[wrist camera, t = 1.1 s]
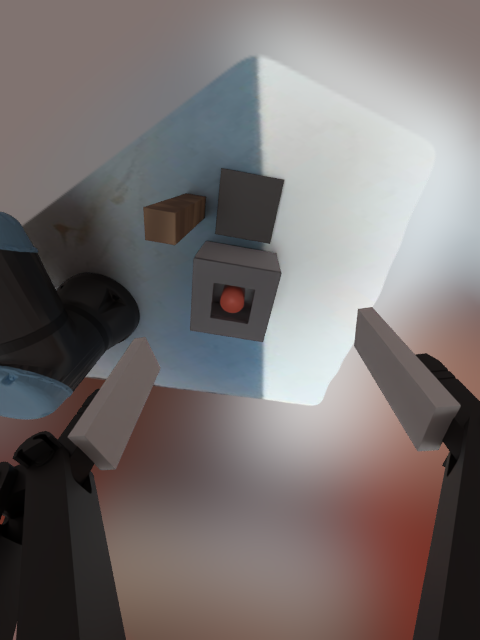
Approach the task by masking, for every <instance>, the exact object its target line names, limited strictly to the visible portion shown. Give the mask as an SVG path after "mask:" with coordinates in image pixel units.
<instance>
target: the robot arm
mask: <svg viewBox="0 0 480 640" xmlns="http://www.w3.org/2000/svg"><path fill="white" fill-rule="evenodd" d="M37 252H38V250H37V248H35V247H34V246H33V244H32V243H31V241H30V239H29V238H28V236H27V234H26V233H25V231H24V229H23V227H22V226H21V224H20V223H19V222H18V221H17V220H16V219H15V218H14V217H12V216H11V215H9V214H6V213H4V212H0V416H4V417H9V418H15V419H37V418H41V417H45V416H47V415H49V414H51V413H53V412H54V411H55V410H56V409H57V408H58V407H59V406H60V405H61V404H62V403H63V401H64V400H65V399H66V398H68V397H69V396H71V394H72V393H73V391H74V390H75V389H76V387H77V386H78V385H79V384H80V383H81V381H82V380H83V379H84V378H85V376H86V375H87V374H88V372H89V371H90V370H91V369H92V367H93V366H94V365H95V364H96V362H97V361H98V360H99V359H100V357H101V356H102V355H103V354H104V353H105V351H106V350H108V349H109V348H111V347H113V346H114V345H115V344H117V343H120V342H122V341H124V340H125V339H127V338H128V337H129V336H130V335H131V334H132V333H133V331H134V330H135V329H136V327H137V325H138V322H139V310H138V307H137V304H136V302H135V300H134V299H133V297H132V296H131V295H130V293H129V292H128V291H127V290H126V289H125V288H124V287H123V286H121V285H120V284H119V283H117V282H116V281H114V280H112V279H110V278H108V277H106V276H103V275H100V274H95V273H81V274H78V275H75V276H73V277H71V278H70V279H68V280H66V281H65V282H64V283H62V284H61V285H60V287H59V288H58V290H57V291H56V289H55V288H54V286H53V284H52V282H51V280H50V278H49V276H48V274H47V272H46V269H45V267H44V265H43V263H42V261H41V259H40V257H39V255H38V253H37ZM354 346H355V348H356V350H357V351H358V353H359V355H360V356H361V358H362V360H363V361H364V363H365V365H366V366H367V368H368V370H369V371H370V373H371V375H372V376H373V378H374V380H375V381H376V383H377V385H378V386H379V388H380V390H381V391H382V393H383V394H384V396H385V398H386V400H387V401H388V403H389V405H390V406H391V408H392V410H393V411H394V413H395V415H396V416H397V418H398V419H399V421H400V423H401V424H402V426H403V428H404V429H405V431H406V433H407V434H408V436H409V438H410V439H411V441H412V443H413V444H414V446H415V448H416V449H417V451H429V450H439V448H440V446H441V444H442V442H444V444H445V445H446V446H447V448H448V449H449V451H450V452H449V454H448V456H447V458H446V460H445V461H444V463H443V465H442V466H444V467H445V473H444V478H443V483H442V489H441V494H440V499H439V504H438V509H437V515H436V520H435V525H434V531H433V536H432V541H431V546H430V551H429V557H428V562H427V567H426V573H425V578H424V583H423V588H422V594H421V599H420V604H419V609H418V615H417V620H416V625H415V630H414V636H413V640H480V401H479V400H478V399H477V398H476V397H475V396H474V395H473V394H472V393H471V392H470V391H469V390H468V389H467V388H466V387H465V386H464V385H463V384H462V383H461V382H460V381H459V380H458V379H456V378H455V376H454V375H453V374H452V373H451V372H450V371H448V369H447V368H446V367H445V366H444V365H443V364H442V363H441V362H440V361H439V360H437V359H435V358H433V357H432V356H430V355H428V354H417V355H415V354H414V353H413V352H412V351H411V350H410V349H409V348H408V346H407V345H406V344H405V343H404V342H403V341H402V340H401V339H400V338H399V336H398V335H397V334H396V333H395V332H394V331H393V330H392V329H391V328H390V326H389V325H388V324H387V323H386V322H385V321H384V320H383V319H382V318H381V317H380V315H379V314H378V313H377V312H376V311H375V310H374V309H373V308H372V307H370V308H362V309H358V315H357V324H356V334H355V343H354ZM159 371H160V366H159V364H158V362H157V360H156V358H155V356H154V354H153V352H152V349H151V347H150V345H149V343H148V341H147V339H146V337H142V338H135V339H134V340H133V341H132V343H131V344H130V346H129V347H128V349H127V350H126V352H125V353H124V355H123V356H122V358H121V359H120V360H119V362H118V363H117V365H116V366H115V368H114V369H113V371H112V372H111V374H110V375H109V377H108V378H107V380H106V381H105V382H104V384H103V386H102V387H101V388H100V389H97V390H95V391H94V392H93V393H92V394H91V395H90V396H89V397H88V398H87V399H86V401H85V402H84V403H83V405H82V407H81V408H80V409H79V410H78V412H77V415H75V416H74V418H73V419H72V420H71V422H70V423H69V425H68V426H67V427H66V429H65V430H64V432H63V433H62V434H61V436H60V437H59V439H58V440H57V439H56V438H55V437H54V436H53V435H52V434H51V433H50V432H47V431H44V432H39V433H37V434H35V435H33V436H31V437H30V438H28V439H27V440H26V441H25V442H24V443H23V444H21V445H20V446H19V448H18V449H17V450H16V452H15V453H14V456H13V459H14V460H16V461H17V462H18V463H20V465H17V466H15V467H14V466H12V465H11V464H9V463H8V462H1V463H0V519H1V516H2V515H3V516H5V519H4V522H3V523H2V525H1V524H0V640H13V636H14V632H15V628H16V624H17V635H16V640H126V638H125V633H124V627H123V622H122V617H121V612H120V607H119V602H118V597H117V592H116V587H115V582H114V577H113V572H112V566H111V561H110V556H109V552H108V546H107V542H106V536H105V531H104V526H103V521H102V516H101V511H100V506H99V501H98V495H97V490H96V485H95V481H94V475H93V474H92V472H91V469H92V467H93V465H94V464H95V465H96V466H97V467H98V468H99V469H100V470H111V469H116V467H117V465H118V462H119V460H120V458H121V456H122V454H123V451H124V449H125V447H126V445H127V442H128V440H129V438H130V436H131V433H132V431H133V429H134V427H135V424H136V422H137V420H138V418H139V415H140V413H141V411H142V409H143V406H144V404H145V402H146V399H147V397H148V395H149V393H150V390H151V389H152V386H153V384H154V382H155V380H156V377H157V375H158V373H159Z"/></svg>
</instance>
